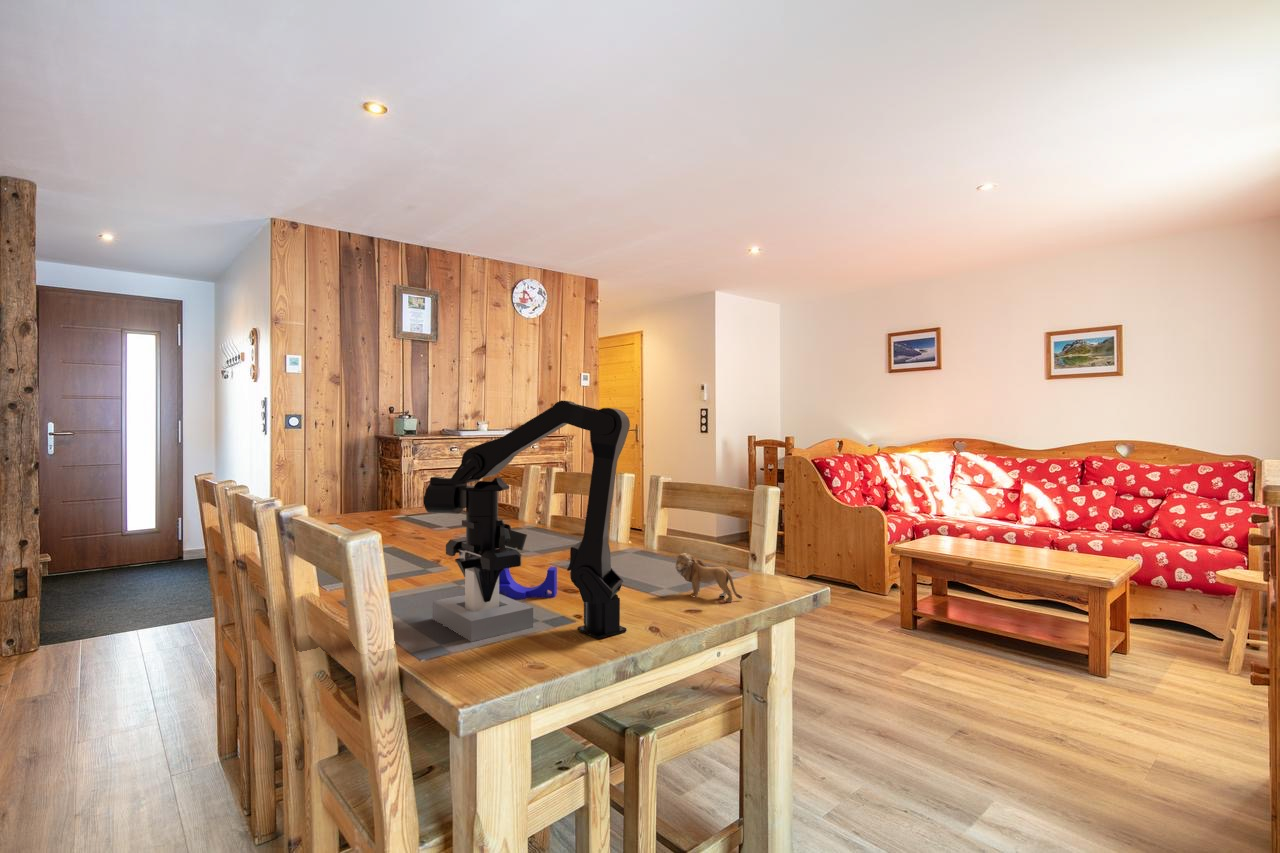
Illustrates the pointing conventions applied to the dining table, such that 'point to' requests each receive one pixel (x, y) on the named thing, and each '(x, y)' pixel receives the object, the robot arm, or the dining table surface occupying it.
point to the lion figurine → (704, 575)
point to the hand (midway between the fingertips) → (482, 599)
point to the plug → (478, 593)
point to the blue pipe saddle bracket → (520, 592)
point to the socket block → (482, 617)
